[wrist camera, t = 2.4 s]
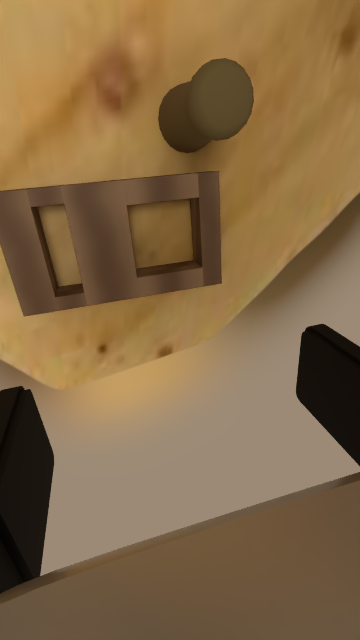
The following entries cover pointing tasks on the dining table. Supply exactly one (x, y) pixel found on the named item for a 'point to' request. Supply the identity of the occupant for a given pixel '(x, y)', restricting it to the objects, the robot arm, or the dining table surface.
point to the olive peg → (207, 106)
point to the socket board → (107, 240)
